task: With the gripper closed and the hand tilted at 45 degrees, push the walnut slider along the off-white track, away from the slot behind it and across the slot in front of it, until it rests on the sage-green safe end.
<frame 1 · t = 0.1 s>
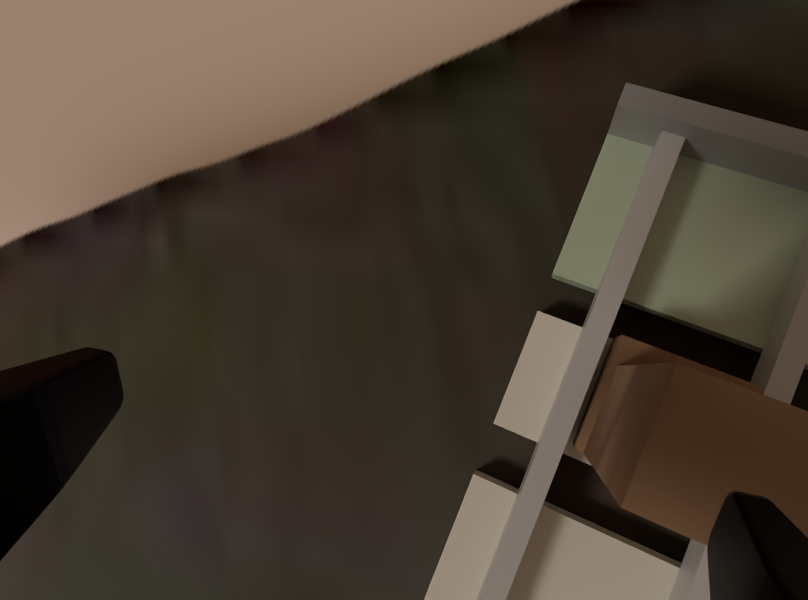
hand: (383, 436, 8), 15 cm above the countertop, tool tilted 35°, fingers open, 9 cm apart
track: (647, 412, 21), on the countertop
slider: (694, 428, 15), point 6 cm above the countertop, slide at 0.0 cm
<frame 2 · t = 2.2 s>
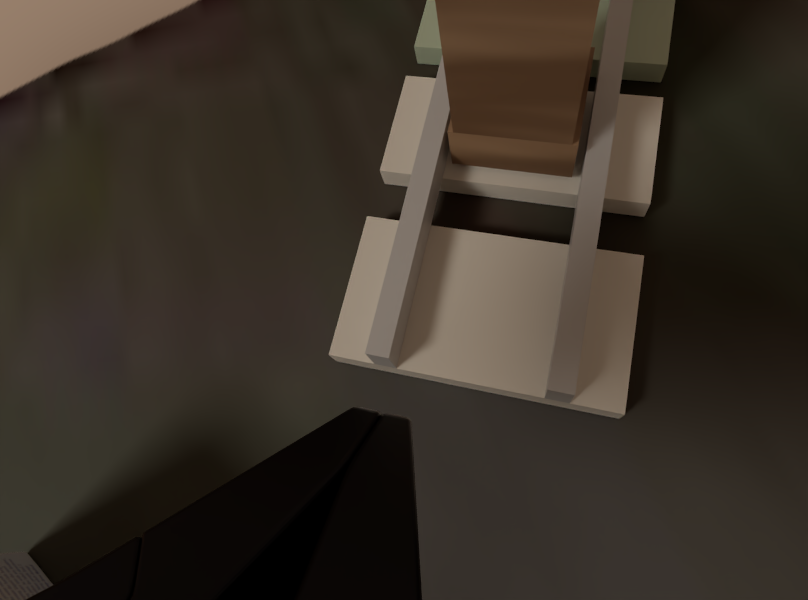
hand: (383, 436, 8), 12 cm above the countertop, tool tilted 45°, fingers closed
track: (519, 144, 23), on the countertop
slider: (524, 26, 17), point 6 cm above the countertop, slide at 0.0 cm
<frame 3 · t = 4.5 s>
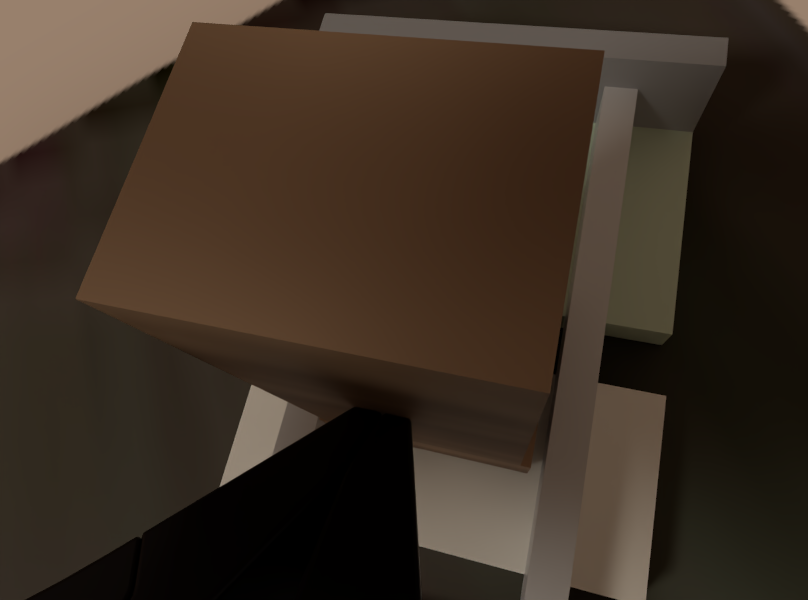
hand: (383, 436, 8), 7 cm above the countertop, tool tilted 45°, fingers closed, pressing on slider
track: (441, 439, 15), on the countertop
slider: (424, 304, 10), point 6 cm above the countertop, slide at 1.6 cm, touching gripper
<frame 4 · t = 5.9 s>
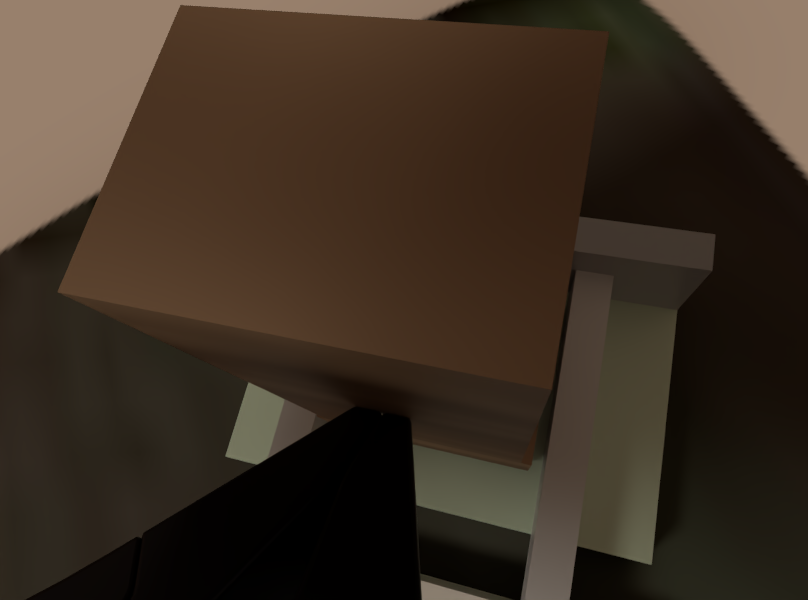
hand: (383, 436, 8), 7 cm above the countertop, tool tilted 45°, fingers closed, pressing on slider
slider: (422, 298, 9), point 6 cm above the countertop, slide at 6.8 cm, touching gripper
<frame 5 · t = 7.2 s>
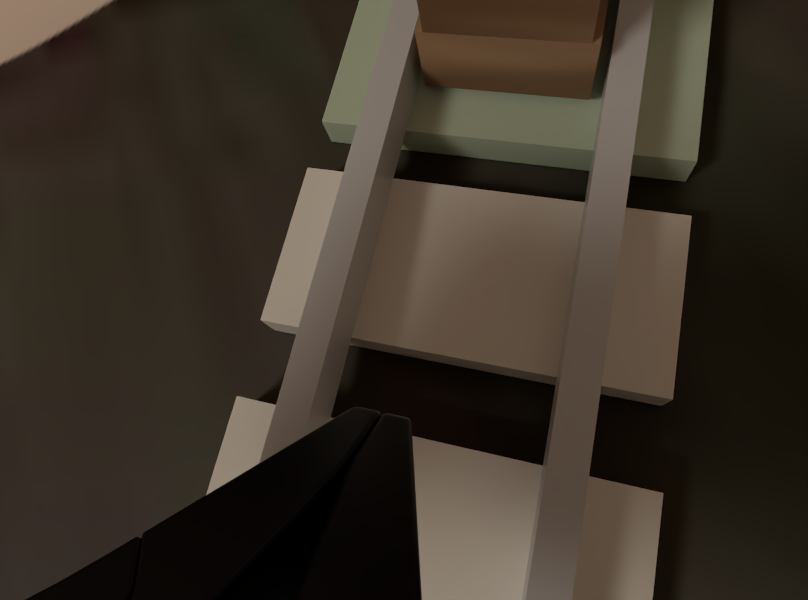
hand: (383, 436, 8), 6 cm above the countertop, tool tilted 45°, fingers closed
track: (472, 274, 16), on the countertop
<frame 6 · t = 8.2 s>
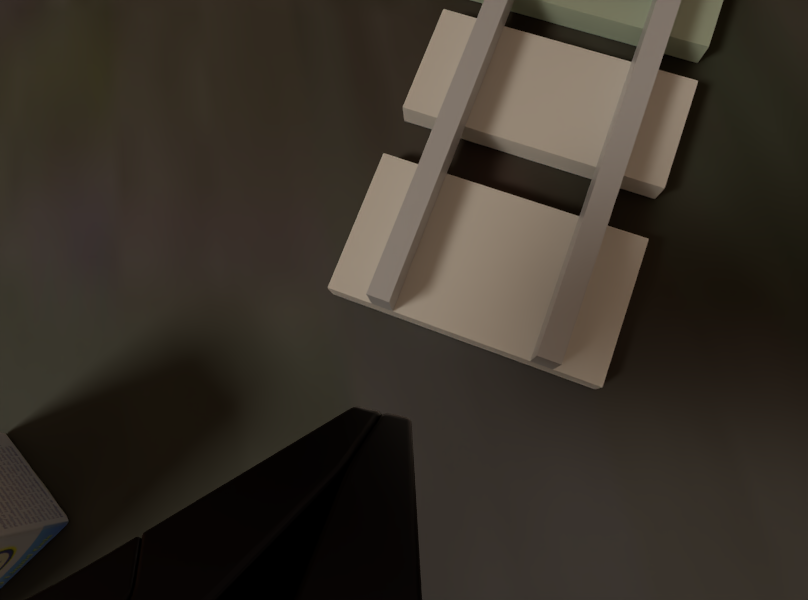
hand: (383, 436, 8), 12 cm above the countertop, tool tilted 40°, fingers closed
track: (546, 103, 23), on the countertop
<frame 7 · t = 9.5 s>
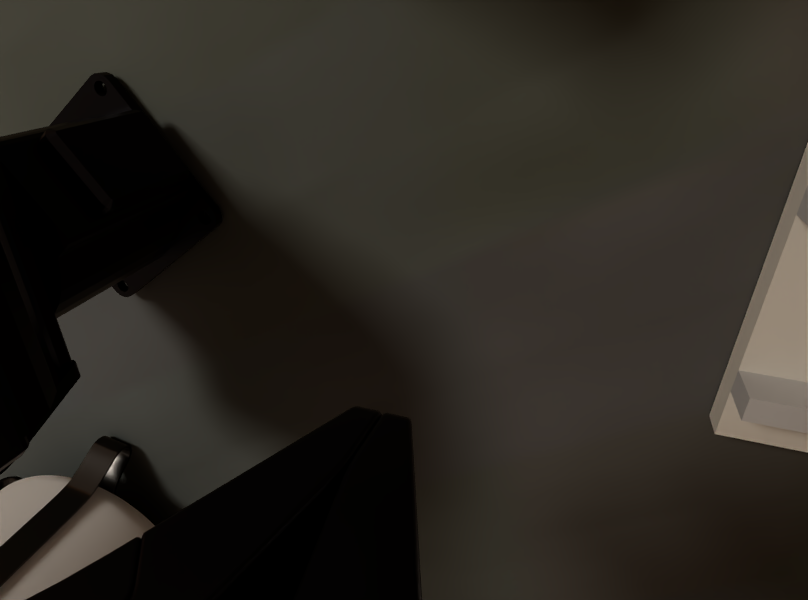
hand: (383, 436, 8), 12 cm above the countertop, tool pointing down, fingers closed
coffee press: (141, 542, 33), on the countertop
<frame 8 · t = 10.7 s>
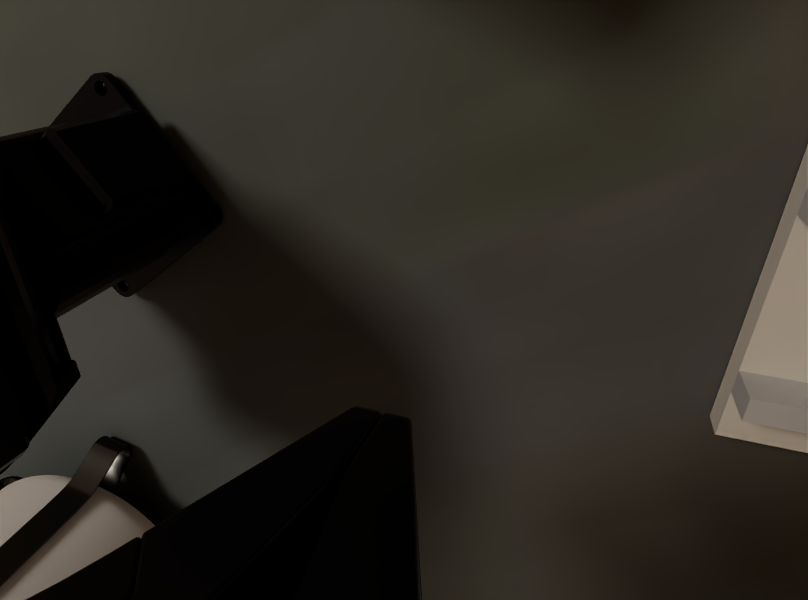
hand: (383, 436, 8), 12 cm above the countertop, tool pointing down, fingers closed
coffee press: (141, 542, 33), on the countertop
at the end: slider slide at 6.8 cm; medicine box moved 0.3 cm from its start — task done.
